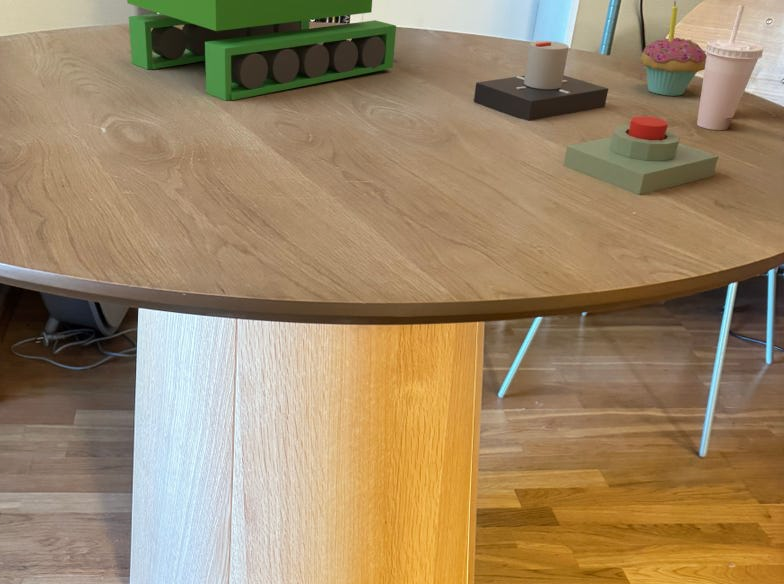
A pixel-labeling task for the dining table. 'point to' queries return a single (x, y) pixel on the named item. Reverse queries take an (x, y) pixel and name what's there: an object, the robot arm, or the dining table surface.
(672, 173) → the switch block
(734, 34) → the smoothie
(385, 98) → the dining table surface
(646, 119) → the power button
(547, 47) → the timer dial
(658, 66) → the cupcake
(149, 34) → the tank
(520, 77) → the timer panel
